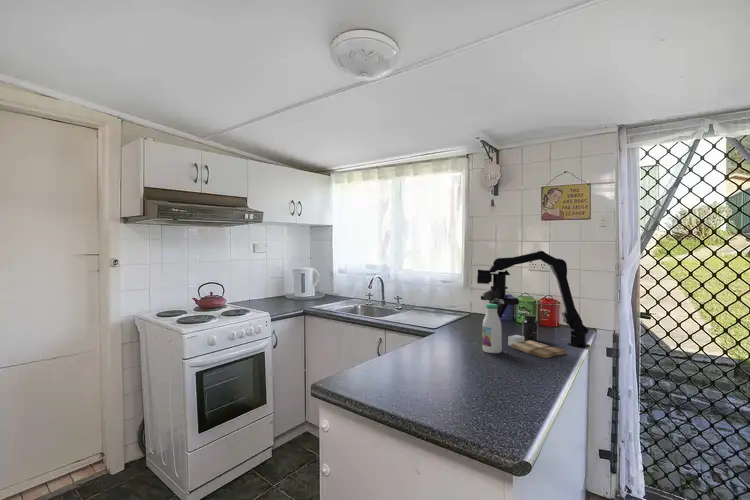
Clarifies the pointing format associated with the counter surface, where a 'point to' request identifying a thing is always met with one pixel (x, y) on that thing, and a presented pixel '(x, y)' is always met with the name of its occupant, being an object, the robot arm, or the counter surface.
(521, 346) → the plank
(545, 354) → the floorboard
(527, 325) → the supplement bottle
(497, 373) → the counter surface
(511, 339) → the block
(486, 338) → the milk bottle
